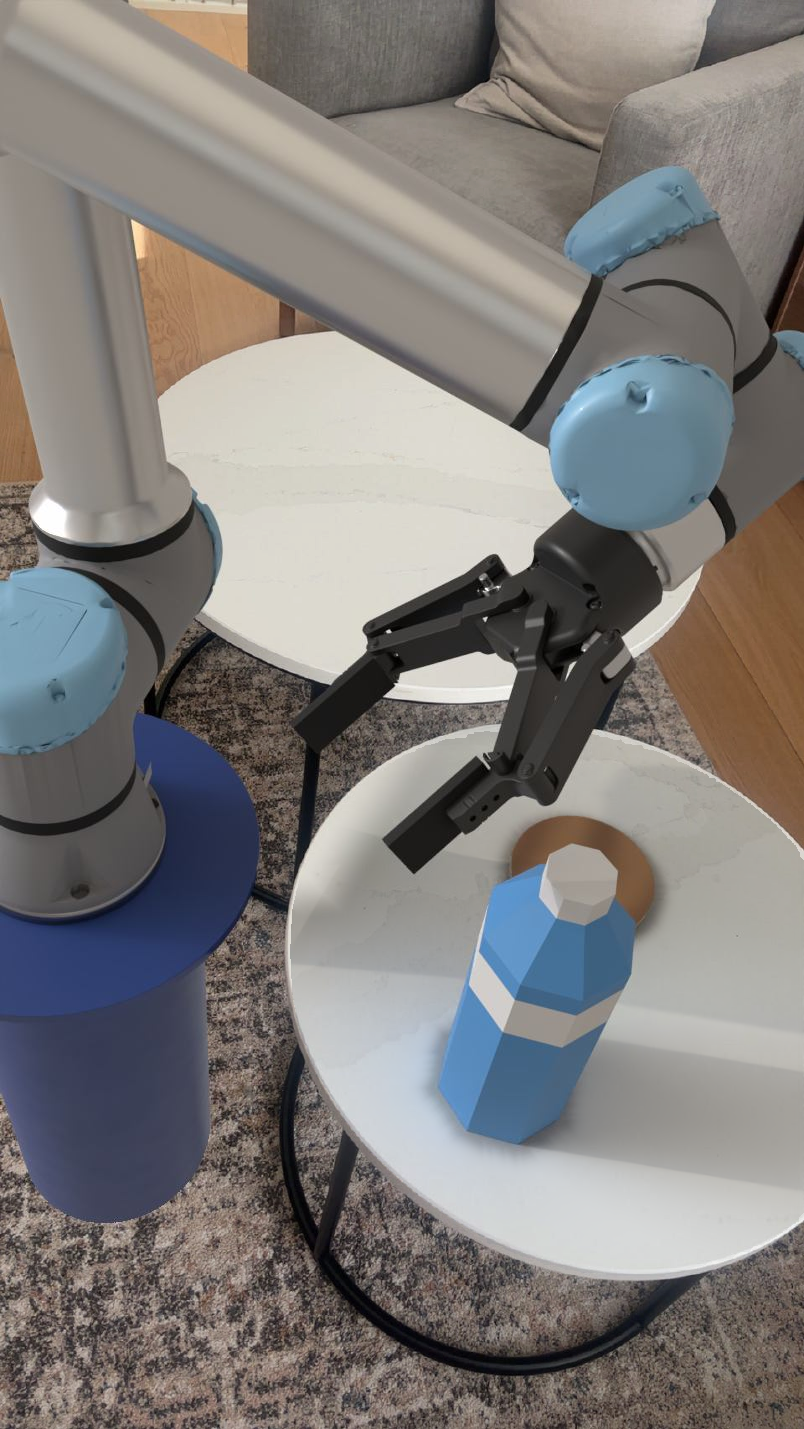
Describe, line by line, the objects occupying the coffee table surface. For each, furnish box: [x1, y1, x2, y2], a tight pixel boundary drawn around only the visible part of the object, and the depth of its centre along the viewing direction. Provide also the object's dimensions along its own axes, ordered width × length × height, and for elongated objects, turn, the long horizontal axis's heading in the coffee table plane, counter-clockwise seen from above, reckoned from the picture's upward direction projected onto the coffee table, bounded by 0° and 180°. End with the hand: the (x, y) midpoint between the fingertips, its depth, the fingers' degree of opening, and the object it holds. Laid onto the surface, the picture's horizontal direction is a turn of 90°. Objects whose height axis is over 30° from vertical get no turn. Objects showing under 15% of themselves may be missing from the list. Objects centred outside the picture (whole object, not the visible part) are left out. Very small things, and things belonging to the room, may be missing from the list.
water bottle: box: [437, 844, 636, 1145], centre depth 69 cm, size 9×9×25 cm
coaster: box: [508, 815, 656, 929], centre depth 90 cm, size 12×12×1 cm
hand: (345, 793), depth 62 cm, fingers open, 13 cm apart
